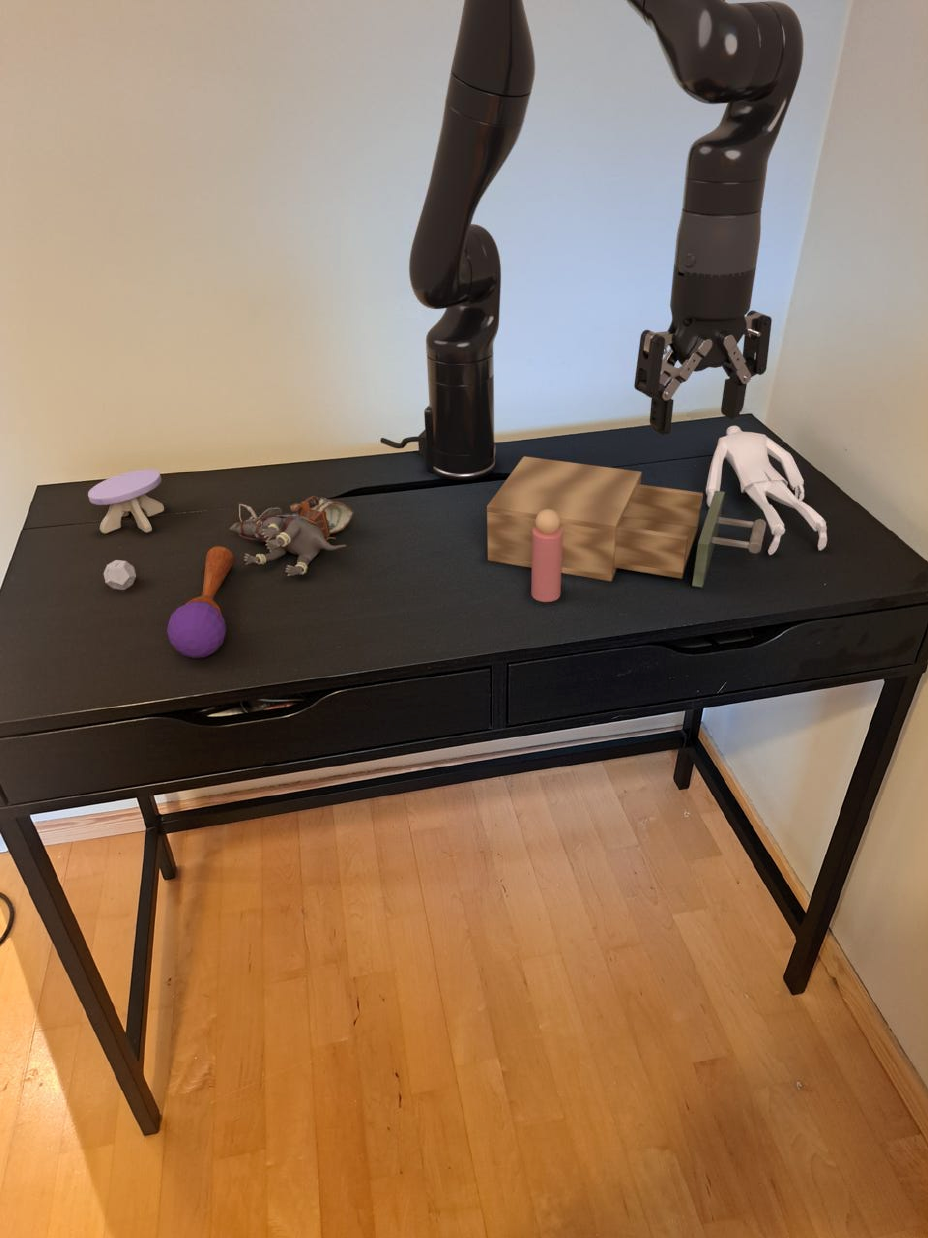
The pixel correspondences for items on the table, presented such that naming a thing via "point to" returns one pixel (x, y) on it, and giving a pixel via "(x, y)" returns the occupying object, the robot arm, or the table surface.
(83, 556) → the table surface
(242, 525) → the figurine
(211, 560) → the purple maraca
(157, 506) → the toy table
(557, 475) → the cabinet
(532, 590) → the pink game pawn
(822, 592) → the table surface
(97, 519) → the table surface
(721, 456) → the male figurine
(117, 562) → the game die
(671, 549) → the drawer
